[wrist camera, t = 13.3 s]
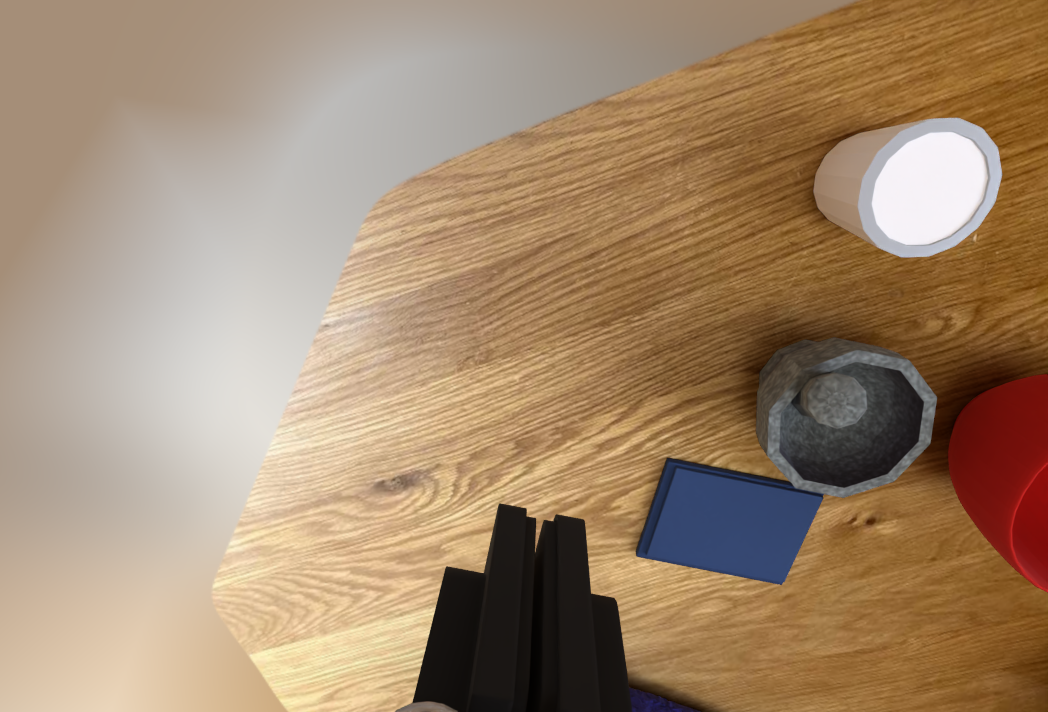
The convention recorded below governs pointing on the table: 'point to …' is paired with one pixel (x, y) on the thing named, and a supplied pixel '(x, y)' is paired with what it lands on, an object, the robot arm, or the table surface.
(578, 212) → the table surface
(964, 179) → the beige tapered cup
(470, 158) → the table surface
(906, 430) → the mortar and pestle
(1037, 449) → the ceramic cup
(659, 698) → the towel
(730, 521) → the blue flat slab
